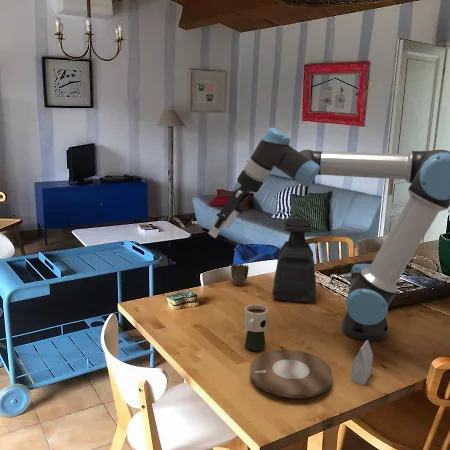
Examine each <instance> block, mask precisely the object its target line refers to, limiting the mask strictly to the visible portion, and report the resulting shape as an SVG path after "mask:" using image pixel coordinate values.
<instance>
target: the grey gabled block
mask: <svg viewBox="0 0 450 450" xmlns="http://www.w3.org/2000/svg"><path fill="white" fill-rule="evenodd" d="M373 358H374V354H373V351H372V348H371V346H370V342H369V341H367V340H366V341H364V343H363V345H362V346H361V347H360V349H359V351H358V353H357V355H356V356H355V358H354V359H353V360H352V365H351V366H352V367H351V375H350V376H351V377H350V381H351V382H353V383H356V384H359V385H363V386H365V385H366V383H367V382H368V380H369V378H370V377H371V375H372V371H373V360H374V359H373Z"/></svg>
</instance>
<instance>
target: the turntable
mask: <svg viewBox="0 0 450 450" xmlns="http://www.w3.org/2000/svg"><path fill="white" fill-rule="evenodd" d="M249 372H250V374H249V375H250V378H251V380H252V381H253V383H254V384H255V385H256V386H257V387H258V388H260V389H261V390H263V391H265V392H266V393H268V394H271V395H274V396H277V397H283V398H289V399H306V398H311V397H315V396H319V395H321V394H323V393H324V392H326V391H327V390H329V388H330V386H331V385H332V379H333V373H332V370H331V367H330V365H328V363H326V362H325V361H324V360H323V359H321V358H320V357H318V356H317V355H313V354H311V353H308V352H305V351H301V350H295V349H276V350H275V349H274V350H269V351H266V352H263V353H261V354H259V355H258V356H256V357H255V358H253V360H252V361H251V363H250V371H249Z"/></svg>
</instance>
